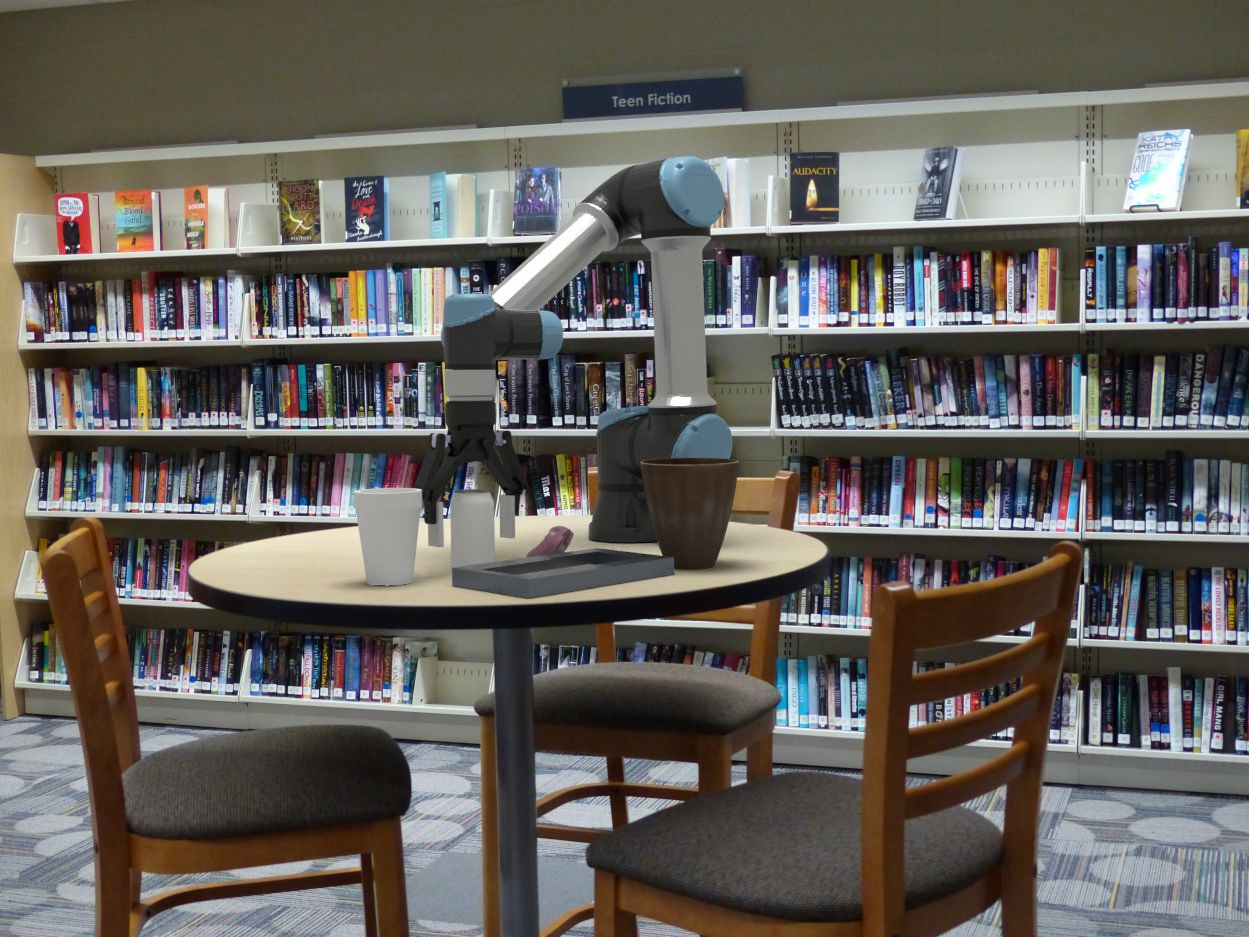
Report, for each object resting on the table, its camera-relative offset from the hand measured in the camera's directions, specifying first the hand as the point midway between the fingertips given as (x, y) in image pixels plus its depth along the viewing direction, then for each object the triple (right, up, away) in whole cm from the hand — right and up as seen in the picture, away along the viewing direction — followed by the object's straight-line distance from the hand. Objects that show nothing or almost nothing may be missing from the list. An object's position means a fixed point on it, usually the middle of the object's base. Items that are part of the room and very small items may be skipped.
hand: (472, 542), depth 197 cm
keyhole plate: (+14, -5, -9) cm, 18 cm away
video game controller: (+11, -4, +8) cm, 14 cm away
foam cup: (-10, -5, -10) cm, 16 cm away
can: (0, -5, 0) cm, 4 cm away
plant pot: (+33, -4, +3) cm, 33 cm away
